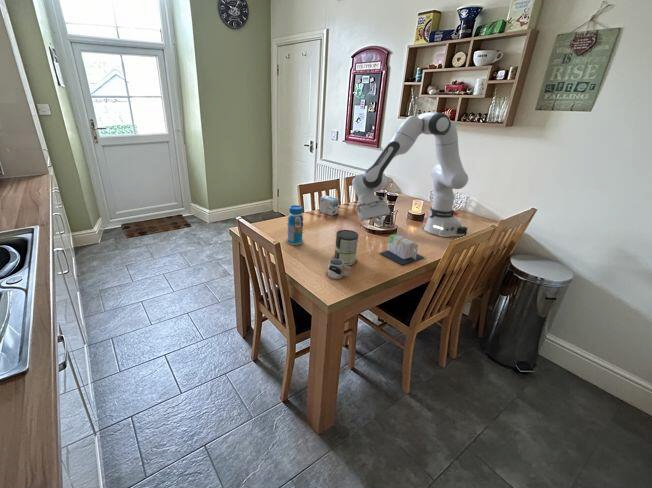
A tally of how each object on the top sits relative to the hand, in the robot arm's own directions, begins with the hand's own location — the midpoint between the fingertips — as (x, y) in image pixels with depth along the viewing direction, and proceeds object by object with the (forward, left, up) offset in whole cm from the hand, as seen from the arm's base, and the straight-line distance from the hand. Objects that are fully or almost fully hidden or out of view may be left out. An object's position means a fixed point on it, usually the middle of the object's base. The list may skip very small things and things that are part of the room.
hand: (380, 224), depth 174 cm
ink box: (-5, +8, -6) cm, 11 cm away
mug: (+26, +35, -11) cm, 45 cm away
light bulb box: (+21, -48, -11) cm, 53 cm away
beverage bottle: (+45, 0, -11) cm, 47 cm away
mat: (-9, +14, -11) cm, 20 cm away
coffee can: (+21, +20, -11) cm, 31 cm away
